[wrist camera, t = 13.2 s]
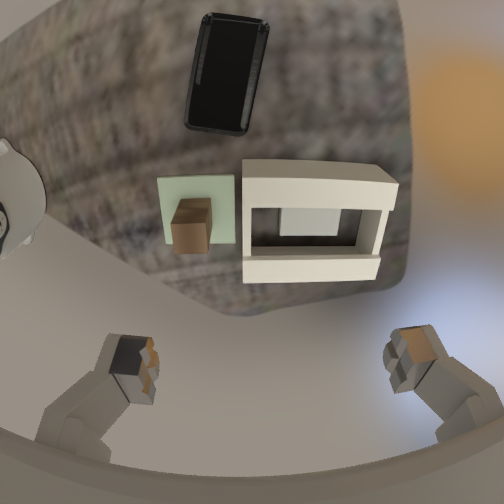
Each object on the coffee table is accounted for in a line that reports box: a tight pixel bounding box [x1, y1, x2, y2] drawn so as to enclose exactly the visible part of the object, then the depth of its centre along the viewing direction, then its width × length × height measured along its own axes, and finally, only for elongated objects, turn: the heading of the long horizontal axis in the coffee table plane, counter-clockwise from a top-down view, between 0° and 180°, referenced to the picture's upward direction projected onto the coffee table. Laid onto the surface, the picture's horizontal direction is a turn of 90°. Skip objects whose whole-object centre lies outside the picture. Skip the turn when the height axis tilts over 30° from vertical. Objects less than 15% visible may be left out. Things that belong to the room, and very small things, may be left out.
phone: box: [184, 13, 270, 137], centre depth 31 cm, size 8×1×15 cm
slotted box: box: [242, 159, 399, 283], centre depth 38 cm, size 18×14×7 cm
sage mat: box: [157, 174, 236, 244], centre depth 41 cm, size 10×10×1 cm
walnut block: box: [170, 198, 213, 254], centre depth 37 cm, size 4×4×7 cm
